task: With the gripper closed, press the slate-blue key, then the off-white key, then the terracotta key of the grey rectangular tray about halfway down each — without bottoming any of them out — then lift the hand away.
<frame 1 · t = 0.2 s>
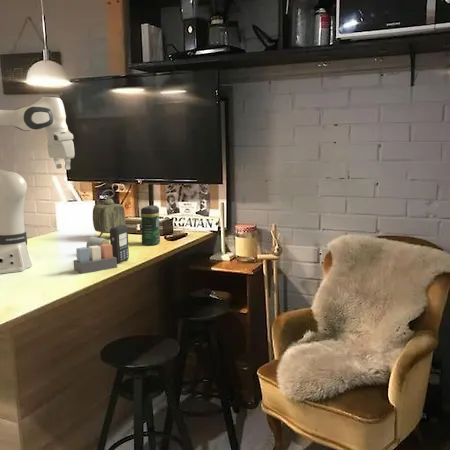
hand: (63, 168, 232), 39 cm above the countertop, tool pointing down, fingers open, 8 cm apart
coffee jar: (151, 244, 267), on the countertop
ceramic mug: (100, 254, 248), on the countertop
key rust: (106, 251, 222), point 6 cm above the countertop, slide at 0.0 cm
grey rectangular tray: (95, 268, 220), on the countertop
card reader: (120, 262, 231), on the countertop
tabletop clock: (111, 239, 281), on the countertop
key blue: (82, 255, 216), point 6 cm above the countertop, slide at 0.0 cm
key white: (94, 253, 219), point 6 cm above the countertop, slide at 0.0 cm
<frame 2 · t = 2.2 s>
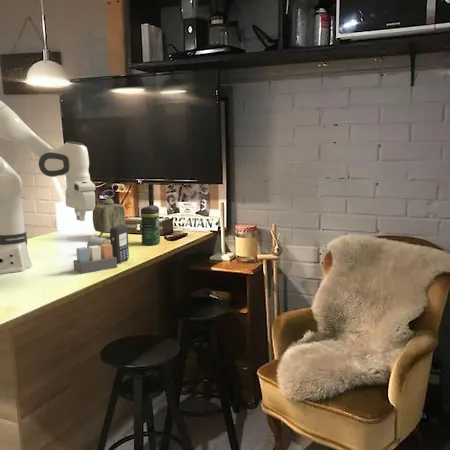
hand: (80, 220, 214), 20 cm above the countertop, tool pointing down, fingers closed
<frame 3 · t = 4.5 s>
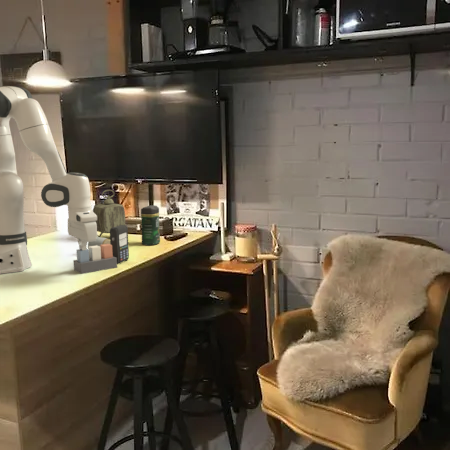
hand: (83, 249, 216), 9 cm above the countertop, tool pointing down, fingers closed, pressing on key blue
key blue: (83, 257, 216), point 6 cm above the countertop, slide at 0.5 cm, touching gripper
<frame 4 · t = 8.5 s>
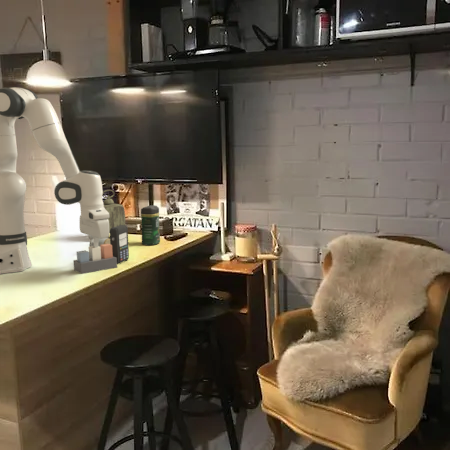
hand: (94, 246, 219), 9 cm above the countertop, tool pointing down, fingers closed, pressing on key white
key blue: (83, 258, 216), point 5 cm above the countertop, slide at 1.3 cm
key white: (94, 254, 219), point 6 cm above the countertop, slide at 0.1 cm, touching gripper
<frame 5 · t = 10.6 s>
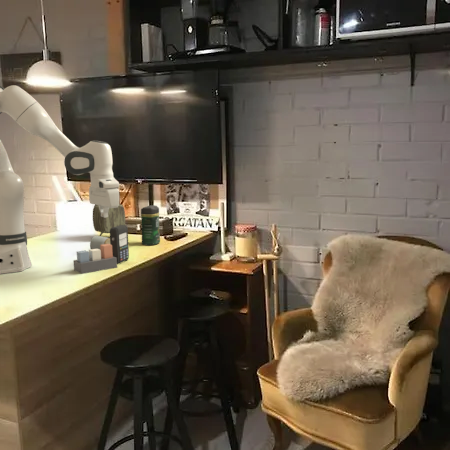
hand: (104, 217, 220), 20 cm above the countertop, tool pointing down, fingers closed
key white: (95, 257, 219), point 5 cm above the countertop, slide at 1.3 cm
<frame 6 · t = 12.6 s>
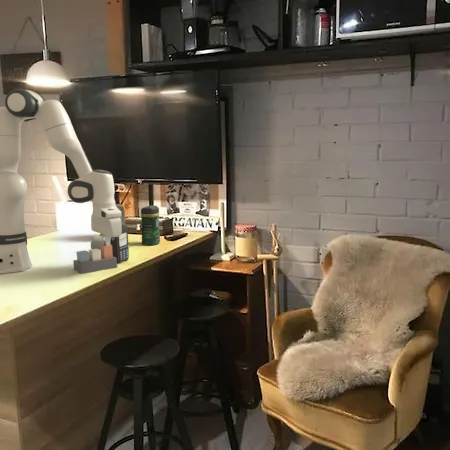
hand: (106, 244, 222), 9 cm above the countertop, tool pointing down, fingers closed, pressing on key rust
key rust: (106, 252, 222), point 6 cm above the countertop, slide at 0.1 cm, touching gripper
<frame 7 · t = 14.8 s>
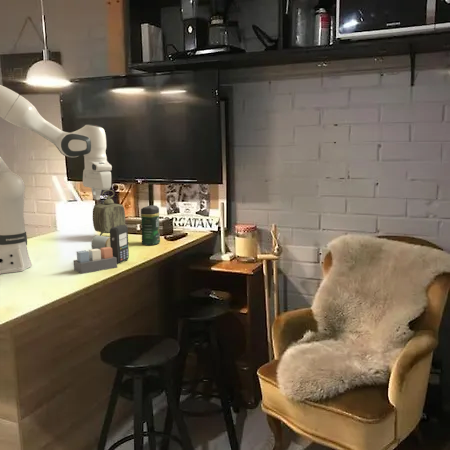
hand: (96, 199, 226), 26 cm above the countertop, tool pointing down, fingers closed
key rust: (106, 255, 222), point 5 cm above the countertop, slide at 1.3 cm
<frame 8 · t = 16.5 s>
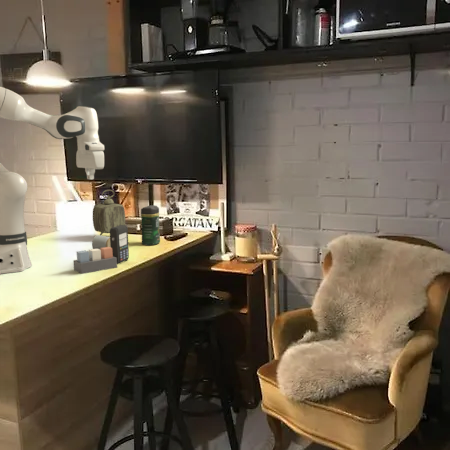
hand: (90, 179, 232), 34 cm above the countertop, tool pointing down, fingers closed
at the end: key blue slide at 1.3 cm; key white slide at 1.3 cm; key rust slide at 1.3 cm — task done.
